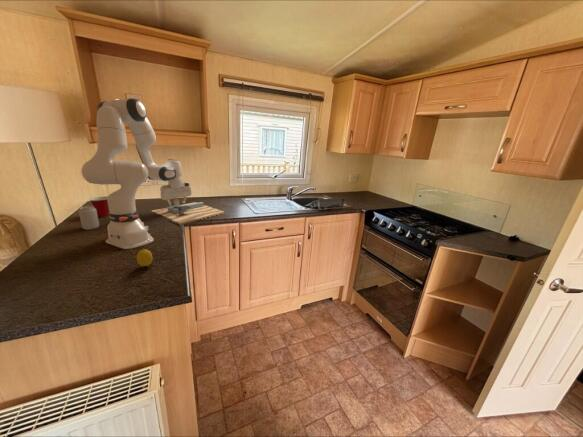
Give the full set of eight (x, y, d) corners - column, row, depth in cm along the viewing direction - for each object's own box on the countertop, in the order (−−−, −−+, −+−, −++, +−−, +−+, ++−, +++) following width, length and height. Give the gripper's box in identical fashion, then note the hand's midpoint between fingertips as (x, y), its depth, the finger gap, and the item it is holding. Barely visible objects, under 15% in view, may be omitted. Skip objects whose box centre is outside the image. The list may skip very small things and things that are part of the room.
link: (175, 213, 161) (174, 209, 160) (167, 210, 166) (167, 207, 165) (206, 206, 180) (206, 203, 180) (199, 204, 185) (198, 201, 184)
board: (224, 213, 173) (224, 211, 173) (180, 225, 147) (179, 222, 146) (195, 204, 191) (195, 202, 191) (151, 212, 164) (151, 210, 164)
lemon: (137, 271, 97) (134, 253, 94) (139, 264, 102) (136, 247, 99) (152, 268, 99) (150, 251, 96) (154, 262, 104) (152, 245, 101)
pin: (180, 211, 168) (180, 199, 165) (176, 211, 165) (175, 200, 163) (178, 210, 169) (177, 199, 167) (174, 211, 167) (173, 199, 164)
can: (79, 228, 132) (74, 207, 128) (93, 224, 139) (89, 204, 135) (88, 231, 130) (83, 209, 126) (102, 227, 136) (98, 206, 133)
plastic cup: (104, 212, 159) (101, 194, 155) (118, 214, 157) (115, 196, 153) (88, 217, 149) (84, 198, 145) (102, 219, 147) (99, 200, 143)
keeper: (190, 213, 163) (190, 206, 162) (181, 215, 158) (181, 208, 157) (187, 212, 166) (186, 205, 164) (178, 214, 160) (177, 207, 159)
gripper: (162, 186, 151) (164, 207, 155) (192, 183, 167) (193, 202, 171) (157, 185, 155) (159, 205, 159) (186, 181, 171) (188, 200, 175)
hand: (177, 204), depth 165 cm, fingers open, 8 cm apart
